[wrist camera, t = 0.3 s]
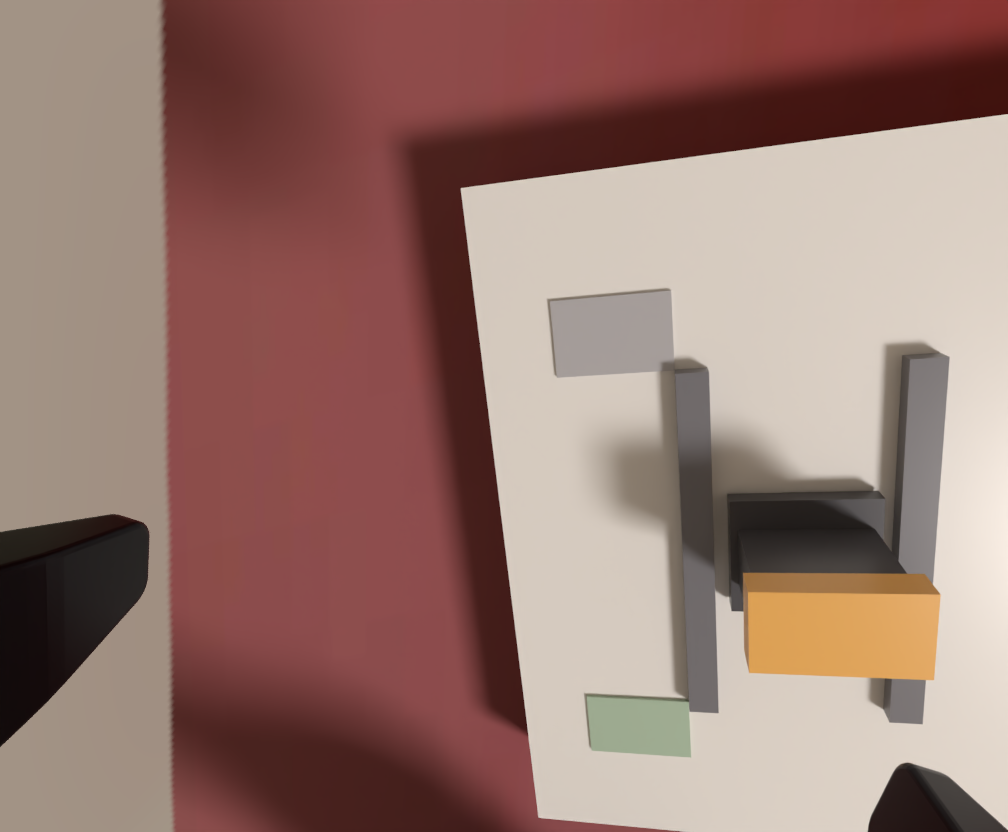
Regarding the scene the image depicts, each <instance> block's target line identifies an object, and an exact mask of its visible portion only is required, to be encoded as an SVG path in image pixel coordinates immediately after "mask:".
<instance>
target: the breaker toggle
mask: <svg viewBox="0 0 1008 832" xmlns="http://www.w3.org/2000/svg"><path fill="white" fill-rule="evenodd" d="M727 508H728V554H729V601H730V606H731V611H741V612H744V652H745V657H746V661H747V666H748V670H749V673H762V674H787V675H812V676H838V677H863V678H888V679H913V680H934V675H935V662H936V649H937V636H938V623H939V610H940V597H941V594H940V593H939V592H938V590H937V589H936V588H935V587H934V585H933V584H932V583H931V581H930V580H929V579H928V577H927V576H926V575H925V574H907V573H906V571H905V570H904V568H903V567H902V566H901V564H900V563H899V561H898V560H897V559H896V557H895V556H894V555H893V553H892V552H891V550H890V549H889V548H888V546H887V545H886V543H885V542H884V541H883V539H884V519H885V498H884V496H883V495H882V494H881V493H880V492H879V491H837V492H787V493H738V494H727Z"/></svg>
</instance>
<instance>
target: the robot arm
mask: <svg viewBox="0 0 1008 832" xmlns="http://www.w3.org/2000/svg"><path fill="white" fill-rule="evenodd" d="M148 559H149V531H148V528H147V526H146V525H145V524H144V523H142V522H140V521H137V520H133V519H131V518H127V517H124V516H121V515H116V514H110V515H104V516H98V517H92V518H85V519H79V520H73V521H66V522H60V523H54V524H47V525H41V526H35V527H29V528H22V529H16V530H10V531H4V532H0V747H1V746H2V745H3V744H4V743H5V742H6V741H7V740H8V739H9V738H10V737H11V736H12V735H13V734H14V733H15V732H16V731H18V730H19V729H20V728H21V727H22V726H23V725H24V724H25V723H26V722H27V721H28V720H29V719H30V718H31V717H32V716H33V715H34V714H35V713H36V712H37V711H38V710H39V709H40V708H41V707H42V706H43V705H44V704H45V703H47V702H48V701H49V699H50V698H51V697H52V696H53V695H54V694H55V693H56V692H57V691H58V690H59V689H60V688H61V687H62V685H63V684H64V683H65V682H66V681H67V680H68V679H69V678H70V677H71V676H72V674H73V673H74V672H75V671H76V670H77V669H78V668H79V666H80V665H81V664H82V663H83V662H84V661H85V660H86V659H87V658H88V656H89V655H90V654H91V653H92V652H93V651H94V650H95V649H96V647H97V646H98V645H99V644H100V643H101V642H102V641H103V640H104V638H105V637H106V636H107V635H108V634H109V633H110V632H111V631H112V629H113V628H114V627H115V626H116V625H117V624H118V623H119V621H120V620H121V619H122V618H123V617H124V616H125V615H126V613H128V611H129V610H130V609H131V608H132V607H133V606H134V604H136V602H137V601H138V600H139V599H140V597H141V595H142V594H143V592H144V590H145V587H146V584H147V580H148ZM868 832H1008V830H1007V829H1006V828H1005V827H1004V826H1003V825H1002V824H1001V823H1000V822H999V821H997V820H996V819H995V818H994V817H993V816H992V815H991V814H990V813H989V812H988V811H986V810H985V809H984V808H983V807H982V806H981V805H980V804H979V803H978V802H976V801H975V800H974V799H973V798H972V797H971V796H970V795H969V794H968V793H967V792H965V791H964V790H963V789H962V788H961V787H960V786H959V785H958V784H957V783H956V782H954V781H953V780H952V779H951V778H950V777H949V776H947V775H945V774H943V773H941V772H938V771H935V770H932V769H929V768H925V767H922V766H919V765H916V764H912V763H908V762H907V763H902V764H900V765H899V766H897V767H896V769H895V770H894V772H893V773H892V775H891V777H890V779H889V781H888V783H887V785H886V787H885V789H884V791H883V793H882V795H881V797H880V799H879V801H878V803H877V805H876V807H875V809H874V811H873V813H872V815H871V817H870V821H869V825H868Z"/></svg>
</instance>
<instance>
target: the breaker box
mask: <svg viewBox="0 0 1008 832" xmlns="http://www.w3.org/2000/svg"><path fill="white" fill-rule="evenodd" d="M461 195H462V203H463V211H464V220H465V228H466V236H467V244H468V252H469V260H470V268H471V276H472V284H473V292H474V300H475V308H476V316H477V324H478V333H479V341H480V349H481V357H482V365H483V373H484V381H485V389H486V397H487V405H488V413H489V421H490V429H491V438H492V446H493V454H494V462H495V470H496V478H497V486H498V494H499V502H500V510H501V518H502V526H503V534H504V543H505V551H506V559H507V567H508V575H509V583H510V591H511V599H512V607H513V615H514V623H515V631H516V639H517V647H518V656H519V664H520V672H521V680H522V688H523V696H524V704H525V712H526V720H527V728H528V736H529V744H530V752H531V761H532V769H533V777H534V785H535V793H536V801H537V809H538V817H539V818H547V819H558V820H568V821H579V822H589V823H600V824H610V825H621V826H631V827H642V828H653V829H663V830H674V831H684V832H868V825H869V821H870V817H871V815H872V813H873V811H874V809H875V807H876V805H877V803H878V801H879V799H880V797H881V795H882V793H883V791H884V789H885V787H886V785H887V783H888V781H889V779H890V777H891V775H892V773H893V772H894V770H895V769H896V767H897V766H899V765H900V764H902V763H907V762H908V763H912V764H916V765H919V766H922V767H925V768H929V769H932V770H935V771H938V772H941V773H943V774H945V775H947V776H949V777H950V778H951V779H952V780H953V781H954V782H956V783H957V784H958V785H959V786H960V787H961V788H962V789H963V790H964V791H965V792H967V793H968V794H969V795H970V796H971V797H972V798H973V799H974V800H975V801H976V802H978V803H979V804H980V805H981V806H982V807H983V808H984V809H985V810H986V811H988V812H989V813H990V814H991V815H992V816H993V817H994V818H995V819H996V820H997V821H999V822H1000V823H1001V824H1002V825H1003V826H1004V827H1005V828H1006V829H1007V830H1008V114H1005V115H998V116H990V117H983V118H975V119H968V120H961V121H953V122H946V123H939V124H931V125H924V126H916V127H909V128H902V129H894V130H887V131H879V132H872V133H865V134H857V135H850V136H842V137H835V138H828V139H820V140H813V141H806V142H798V143H791V144H783V145H776V146H769V147H761V148H754V149H746V150H739V151H732V152H724V153H717V154H709V155H702V156H695V157H687V158H680V159H673V160H665V161H658V162H650V163H643V164H636V165H628V166H621V167H613V168H606V169H599V170H591V171H584V172H576V173H569V174H562V175H554V176H547V177H540V178H532V179H525V180H517V181H510V182H503V183H495V184H488V185H480V186H473V187H466V188H461ZM837 491H879V492H880V493H881V494H882V495H883V496H884V498H885V519H884V539H883V541H884V542H885V543H886V545H887V546H888V548H889V549H890V550H891V552H892V553H893V555H894V556H895V557H896V559H897V560H898V561H899V563H900V564H901V566H902V567H903V568H904V570H905V571H906V573H907V574H925V575H926V576H927V577H928V579H929V580H930V581H931V583H932V584H933V585H934V587H935V588H936V589H937V590H938V592H939V593H940V594H941V597H940V610H939V623H938V636H937V649H936V662H935V675H934V680H913V679H888V678H863V677H838V676H812V675H787V674H762V673H749V670H748V666H747V661H746V657H745V652H744V612H741V611H731V606H730V601H729V554H728V508H727V494H738V493H787V492H837Z"/></svg>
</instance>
